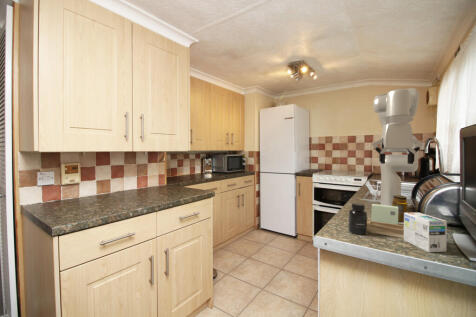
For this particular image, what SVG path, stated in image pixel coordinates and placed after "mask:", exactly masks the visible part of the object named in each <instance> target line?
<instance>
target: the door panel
mask: <svg viewBox="0 0 476 317" xmlns="http://www.w3.org/2000/svg"><path fill="white" fill-rule="evenodd" d="M370 215H371V220H370V221H375V222H383V223H390V224H397V225H399V223H398V207H397V206H387V205H381V204H378V203H377V204H376V203H371V214H370Z"/></svg>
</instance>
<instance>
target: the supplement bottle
mask: <svg viewBox="0 0 476 317" xmlns="http://www.w3.org/2000/svg"><path fill="white" fill-rule="evenodd" d="M365 209H366V206H365V204H364V203H359V202H352V203H351V208H350V209H349V211H348V226H347V227H348V228H347V229H348V232H349V233H351V234H353V235H356V236H357V235H358V236H365V235H367V233H368V232H367V220H368V212H367V211H366V210H365Z"/></svg>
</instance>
